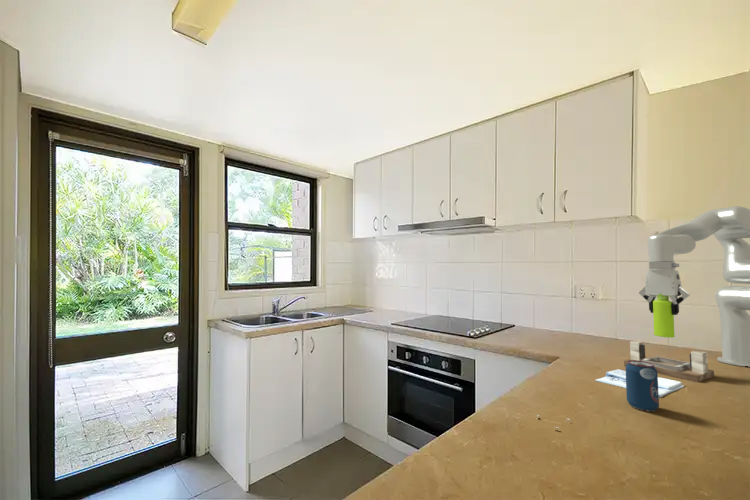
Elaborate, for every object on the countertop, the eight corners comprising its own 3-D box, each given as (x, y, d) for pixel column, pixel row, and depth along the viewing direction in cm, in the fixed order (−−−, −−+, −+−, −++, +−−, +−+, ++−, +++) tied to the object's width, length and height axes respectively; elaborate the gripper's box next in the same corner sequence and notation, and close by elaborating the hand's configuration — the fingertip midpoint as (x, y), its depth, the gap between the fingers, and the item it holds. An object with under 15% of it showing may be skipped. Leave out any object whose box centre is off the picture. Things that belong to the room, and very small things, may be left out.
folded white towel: (685, 388, 108) (685, 381, 108) (659, 400, 98) (659, 392, 98) (618, 373, 125) (618, 367, 125) (590, 381, 114) (590, 375, 114)
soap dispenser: (681, 338, 123) (679, 284, 124) (660, 337, 124) (658, 283, 125) (670, 334, 129) (669, 283, 130) (650, 334, 130) (648, 282, 131)
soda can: (661, 414, 86) (659, 367, 87) (628, 408, 90) (626, 363, 91) (656, 405, 92) (654, 361, 93) (625, 400, 96) (623, 358, 97)
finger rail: (642, 361, 139) (641, 339, 139) (714, 376, 119) (712, 350, 120) (624, 365, 132) (623, 342, 133) (697, 382, 113) (696, 355, 113)
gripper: (695, 266, 123) (697, 315, 121) (640, 267, 138) (642, 310, 136) (686, 266, 119) (688, 317, 118) (630, 266, 134) (632, 311, 133)
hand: (663, 313), depth 127 cm, fingers closed on soap dispenser, 6 cm apart
